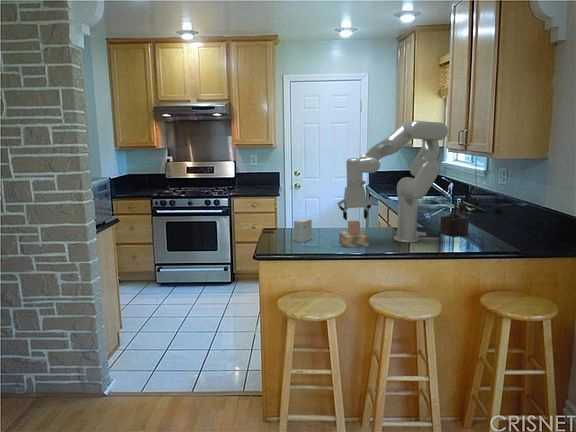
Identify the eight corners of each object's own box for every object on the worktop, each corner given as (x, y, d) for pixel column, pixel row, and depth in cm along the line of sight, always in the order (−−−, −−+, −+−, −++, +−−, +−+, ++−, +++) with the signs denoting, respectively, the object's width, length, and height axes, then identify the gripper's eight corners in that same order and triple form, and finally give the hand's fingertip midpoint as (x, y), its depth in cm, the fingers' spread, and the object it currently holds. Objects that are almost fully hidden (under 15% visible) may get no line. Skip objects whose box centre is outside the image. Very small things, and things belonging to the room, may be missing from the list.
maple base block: (363, 240, 233) (363, 230, 232) (368, 246, 221) (368, 236, 220) (339, 241, 232) (339, 231, 231) (343, 247, 221) (343, 237, 220)
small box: (303, 237, 241) (303, 218, 239) (312, 239, 238) (311, 219, 236) (293, 240, 235) (293, 220, 233) (302, 242, 231) (302, 221, 229)
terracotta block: (357, 232, 228) (358, 220, 227) (359, 235, 223) (360, 222, 222) (347, 233, 228) (347, 221, 227) (349, 235, 223) (349, 223, 222)
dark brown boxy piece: (438, 233, 246) (439, 200, 243) (453, 231, 251) (455, 198, 247) (460, 239, 232) (462, 204, 229) (476, 237, 237) (478, 202, 234)
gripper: (370, 182, 225) (371, 216, 229) (335, 184, 224) (336, 218, 228) (374, 184, 218) (374, 219, 221) (338, 186, 217) (339, 221, 220)
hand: (355, 219), depth 225 cm, fingers open, 9 cm apart
